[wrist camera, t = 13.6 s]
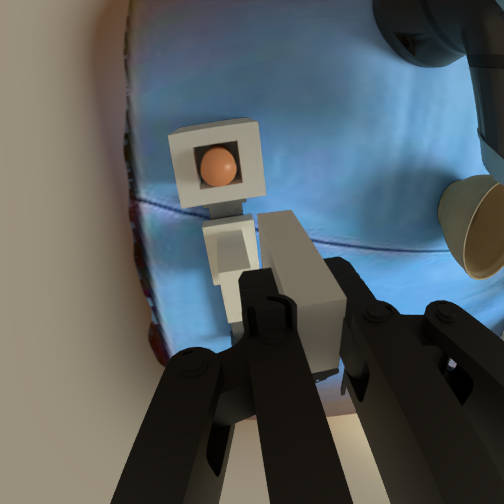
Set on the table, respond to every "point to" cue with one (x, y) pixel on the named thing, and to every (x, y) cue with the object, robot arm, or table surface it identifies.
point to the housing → (191, 154)
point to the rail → (226, 211)
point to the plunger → (218, 165)
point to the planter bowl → (474, 224)
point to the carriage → (231, 257)
